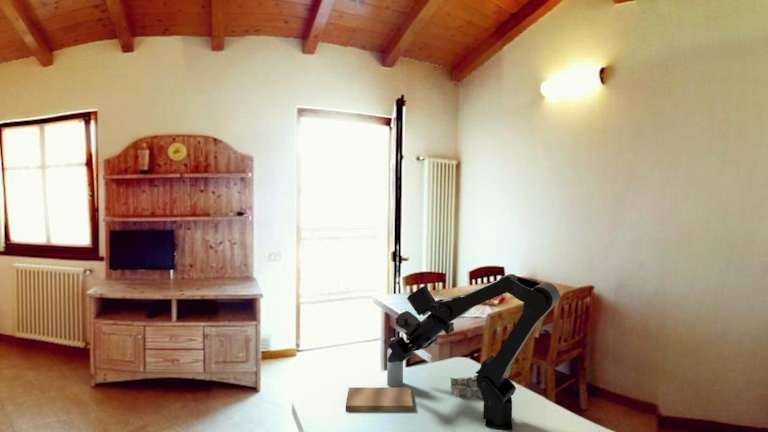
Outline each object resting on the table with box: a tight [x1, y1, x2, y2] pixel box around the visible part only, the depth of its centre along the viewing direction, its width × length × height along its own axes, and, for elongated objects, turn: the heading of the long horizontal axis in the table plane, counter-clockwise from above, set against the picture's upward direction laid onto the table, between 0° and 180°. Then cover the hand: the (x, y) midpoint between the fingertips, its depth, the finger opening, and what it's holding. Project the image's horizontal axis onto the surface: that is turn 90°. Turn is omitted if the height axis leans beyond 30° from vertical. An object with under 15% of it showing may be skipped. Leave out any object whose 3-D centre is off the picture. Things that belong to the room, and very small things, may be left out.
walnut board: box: [345, 386, 414, 412], centre depth 109 cm, size 18×10×2 cm, turn 90°
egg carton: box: [449, 374, 483, 399], centre depth 115 cm, size 11×8×4 cm
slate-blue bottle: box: [386, 337, 404, 387], centre depth 119 cm, size 5×5×14 cm
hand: (397, 356), depth 118 cm, fingers open, 9 cm apart
